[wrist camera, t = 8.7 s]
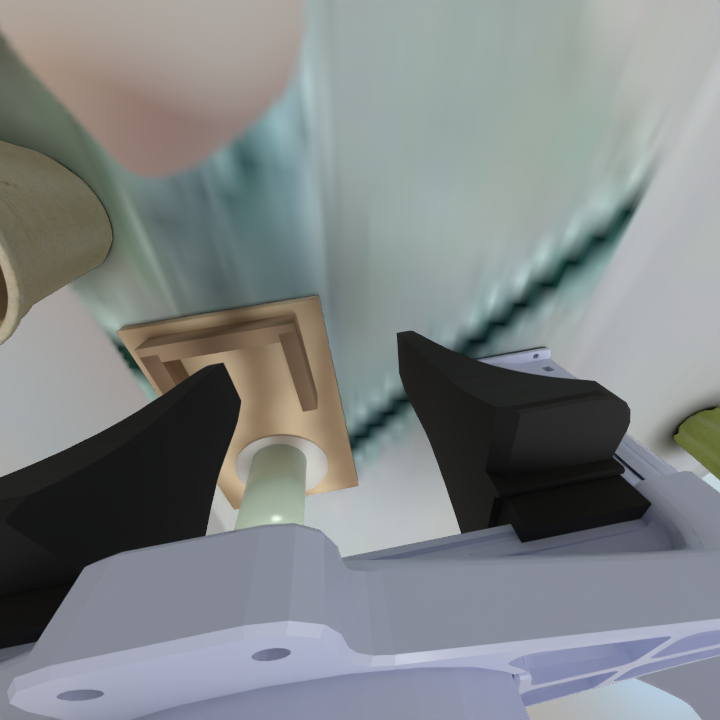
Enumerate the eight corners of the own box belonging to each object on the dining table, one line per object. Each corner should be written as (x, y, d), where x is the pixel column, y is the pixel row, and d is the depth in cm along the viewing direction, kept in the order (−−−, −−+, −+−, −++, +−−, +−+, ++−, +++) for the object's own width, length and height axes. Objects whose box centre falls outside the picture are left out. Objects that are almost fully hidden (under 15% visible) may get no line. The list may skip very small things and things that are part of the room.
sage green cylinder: (300, 439, 26) (294, 505, 20) (316, 489, 30) (315, 555, 24) (244, 449, 25) (223, 518, 20) (269, 498, 29) (257, 567, 24)
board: (318, 295, 20) (318, 307, 18) (357, 479, 31) (360, 501, 29) (123, 327, 19) (97, 343, 17) (236, 502, 31) (229, 526, 29)
